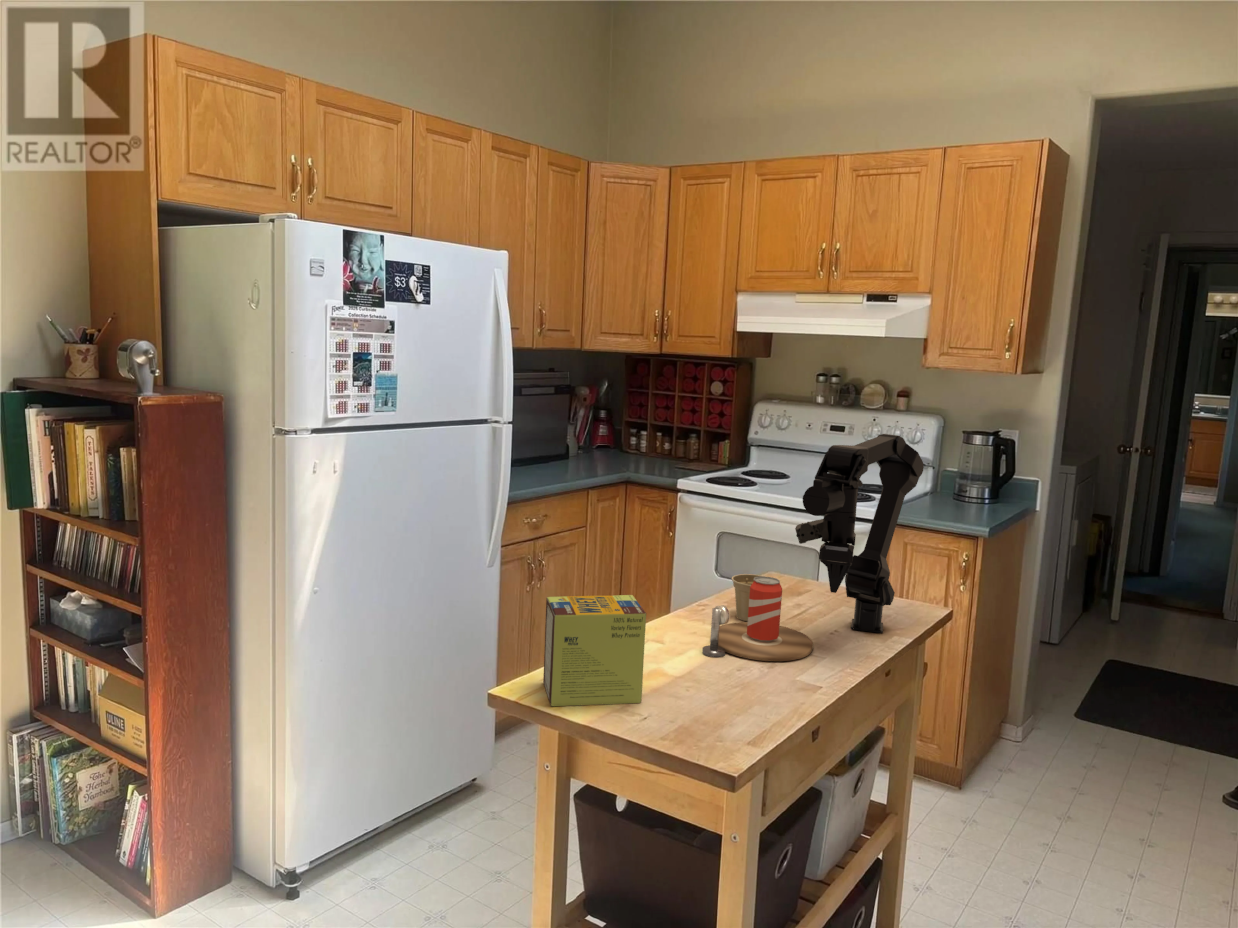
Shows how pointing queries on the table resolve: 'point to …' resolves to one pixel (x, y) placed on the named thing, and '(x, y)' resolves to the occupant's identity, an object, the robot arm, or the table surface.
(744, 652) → the lazy susan
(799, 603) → the table surface
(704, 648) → the metal door stop
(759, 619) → the beverage can
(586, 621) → the protein box
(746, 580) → the flower pot
